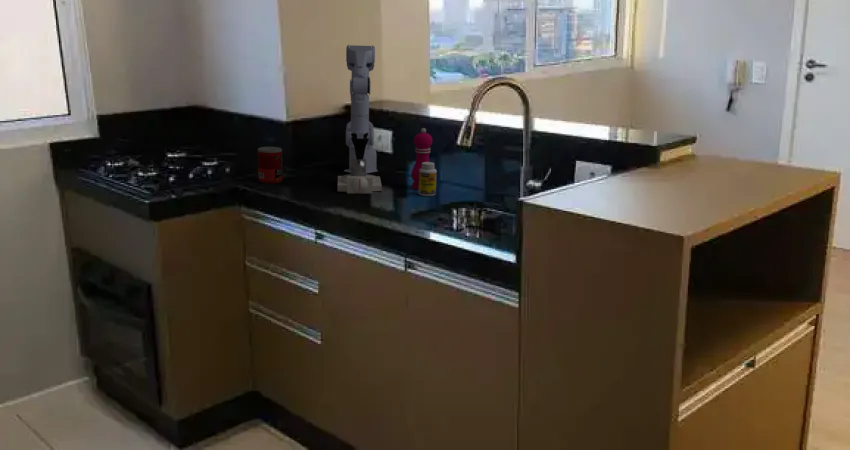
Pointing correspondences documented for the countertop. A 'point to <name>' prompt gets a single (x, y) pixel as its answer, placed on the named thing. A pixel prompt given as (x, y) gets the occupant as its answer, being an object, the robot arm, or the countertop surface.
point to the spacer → (358, 167)
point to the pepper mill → (420, 155)
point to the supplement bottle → (427, 179)
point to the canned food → (270, 164)
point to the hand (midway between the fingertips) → (359, 157)
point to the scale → (359, 183)
